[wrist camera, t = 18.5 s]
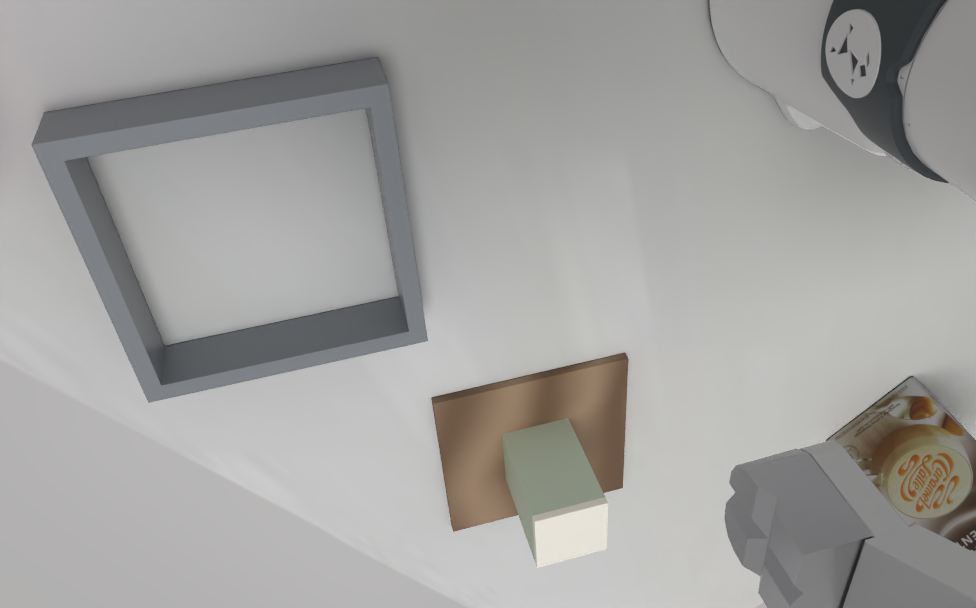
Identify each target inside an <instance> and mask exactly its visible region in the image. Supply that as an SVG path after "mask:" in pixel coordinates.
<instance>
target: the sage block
mask: <svg viewBox="0 0 976 608" xmlns="http://www.w3.org/2000/svg"><path fill="white" fill-rule="evenodd" d="M502 441H503V452H504V463H505V474H506V481H507V484H508V487H509V490H510V493H511V495H512V498H513V501H514V504H515V507H516V509H517V512H518V515H519V518H520V521H521V523H522V526H523V529H524V532H525V535H526V537H527V540H528V543H529V546H530V549H531V552H532V554H533V557H534V560H535V563H536V566H537V568H538V567H542V566H546V565H549V564H553V563H557V562H561V561H564V560H568V559H572V558H575V557H579V556H583V555H587V554H590V553H594V552H598V551H601V550H605V549H607V520H608V502H607V500H606V498H605V496H604V493H603V491H602V489H601V487H600V485H599V483H598V481H597V478H596V476H595V474H594V472H593V470H592V468H591V466H590V464H589V461H588V459H587V457H586V455H585V453H584V451H583V449H582V446H581V444H580V442H579V440H578V438H577V436H576V434H575V432H574V429H573V427H572V425H571V423H570V421H569V419H568V418H567V419H563V420H558V421H554V422H550V423H546V424H542V425H538V426H534V427H530V428H525V429H521V430H517V431H513V432H509V433H505V434H502Z"/></svg>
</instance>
